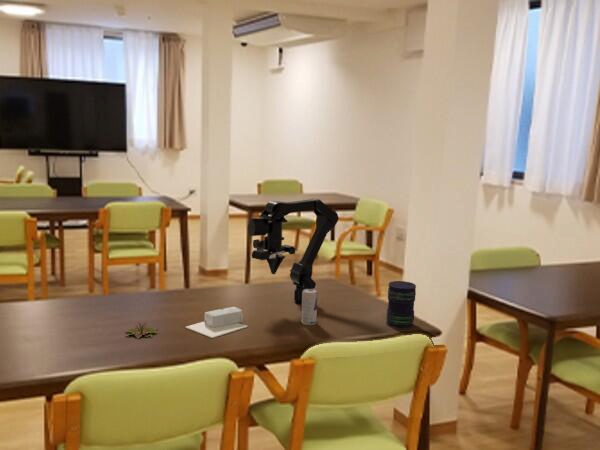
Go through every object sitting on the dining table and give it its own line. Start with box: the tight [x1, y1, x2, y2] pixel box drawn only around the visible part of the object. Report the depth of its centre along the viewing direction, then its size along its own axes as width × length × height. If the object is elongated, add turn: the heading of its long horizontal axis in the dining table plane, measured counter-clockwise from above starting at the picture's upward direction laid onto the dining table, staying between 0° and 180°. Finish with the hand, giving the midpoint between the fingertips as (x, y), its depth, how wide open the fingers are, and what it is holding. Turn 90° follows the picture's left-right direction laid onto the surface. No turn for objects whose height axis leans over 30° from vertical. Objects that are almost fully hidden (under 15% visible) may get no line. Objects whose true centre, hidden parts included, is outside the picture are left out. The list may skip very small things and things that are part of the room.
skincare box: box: [204, 306, 244, 328], centre depth 212 cm, size 6×4×12 cm
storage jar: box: [385, 280, 417, 330], centre depth 216 cm, size 10×10×15 cm
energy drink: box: [300, 288, 318, 326], centre depth 215 cm, size 5×5×12 cm
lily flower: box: [124, 320, 159, 339], centre depth 200 cm, size 12×12×5 cm
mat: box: [185, 320, 248, 339], centre depth 208 cm, size 16×14×1 cm
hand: (273, 274), depth 231 cm, fingers closed
